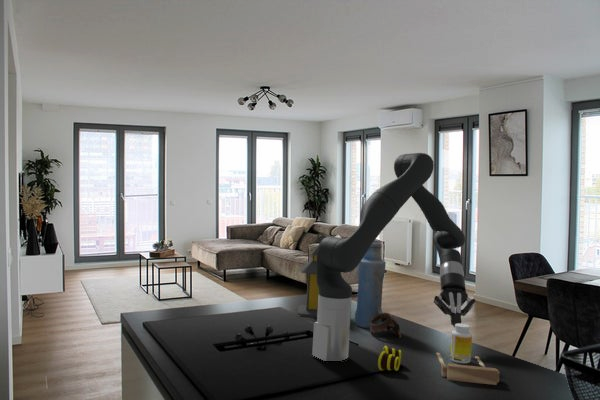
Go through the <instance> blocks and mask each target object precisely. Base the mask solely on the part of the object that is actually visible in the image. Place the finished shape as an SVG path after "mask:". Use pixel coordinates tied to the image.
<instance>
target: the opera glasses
mask: <svg viewBox="0 0 600 400" xmlns="http://www.w3.org/2000/svg"><path fill="white" fill-rule="evenodd" d="M401 363H402V350H401V349H395V348H393V347H392V348H390V347H388V346H387V345H384V346H383V349H382V352H381V353H380V354H379V357H378V360H377V366H378V369H379V370H380V371H381V372H382V371H383V372H384V371H386V370H387V371H393V370H394V371H399V369H400V364H401Z"/></svg>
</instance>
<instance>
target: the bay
mask: <svg viewBox="0 0 600 400" xmlns="http://www.w3.org/2000/svg"><path fill="white" fill-rule="evenodd" d="M435 353H436V356H437V358H438V361H439V363H440V366H441V370H440V371H441V372H440V374H441V377H442V378H446V380H448V381H455V382H464V383H472V384H473V383H474V384H486V385H494V386H497V385H498V383H499V382H500V375H501V374H500V371H499V370H498V369H497V368H495V367H486V366H485V364H484V362H483V361H482V360H481V358H480V357H479V356H474V358H475V360H476V359H477V360H476V361H477V363H478V362H479V363H478V364H479V366H476V365H465V364H456V363H455V364H454V363H447V364H446V363H445V362H444V359H443V357H442V355H441V353H440V352H435Z"/></svg>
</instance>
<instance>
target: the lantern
mask: <svg viewBox="0 0 600 400" xmlns="http://www.w3.org/2000/svg"><path fill="white" fill-rule="evenodd" d="M316 235H317V236H316V237H317V240H318V241H319V242H318V246H316V247H315V248H314V249H313V250H312V251H311V252H310V255H312V258H311V259H310V260H309V261H308V262H306V263H305V264H304V265H303V266H301V267H300V273H302V274H307V289H306V304H300V305H298V306H297V316H298V315H300V316H299V317H303V318H305V317H307V318H317V311H318V294H319V289H318V285H317V279H316V278H317V251H318V247H319V244H320V243H321V241H322V240H323V239H324V238H325V235H324V233H321V232H320V233H318V234H316ZM320 236H322V237H321V238H320Z"/></svg>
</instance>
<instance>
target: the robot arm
mask: <svg viewBox="0 0 600 400" xmlns="http://www.w3.org/2000/svg"><path fill="white" fill-rule="evenodd" d="M434 166H435V165H434V160H433V158H432V157H431V155H429V154H428V153H425V152H424V153H423V152H415V153H404V154H400V155H399V156H397V157H396V159H395V161H394V163H393V172H394V174H395V176H396V179H393V180H392V181H390V182H389V183H386V184H384V185H383V186H380V187H379V188H378V189H376V190H375V191H373V193H372V194H371V195H370V196H368V198H367V199H366V201H365V202H363V205H362V207H361V209H360V213H359V214H360V215H359V225H358V227H357V228H356V229H355V231H353V233H352V234H351V235H349V236H348V237H346V238H344V237H337V236H326V237H324V239H323V240H322V241H321V243H320V244H319V243H318V246H319V247H318V251H317V278H316V279H317V285H318V289H319V294H318V311H317V317H316V321H314V322H313V335H312V336H313V337H312V349H311V351H312V352H311V353H312V354H311V356H312V355H313V356H312V357H314V356H315V357H314V358H316V357H317V358H316V359H318V358H319V360H320V359H321V361H322V360H323V361H322V362H324V361H341V362H343V361H342V360H345V359H347V358H348V359H349V349H350V348H349V347H350V333H351V314H352V312H351V311H352V295H353V287H352V285H350V284H349V283H348V282H347V281H346V280H345V279H344V277H343V276H342V273H347V274H348V273H351V272H352V271H354V270H355V269H356V268H357V267H358V264H359V263H360V262H361V260H362V259H363V257H364V256H365V254H366V252H367V251H368V249H369V248H370V246H371V245H372V243H373V242H374V240H377V238H378V237H379V236H380V234H381V233H382V231H383V230H384V229H385V228H386V226H387V225H389V223H390V222H391V221H392V220H393V219H394V217H395V216H396V215H397V214H398V212H399V210H400V209H401V208H402V207H403V206H404V205H405V204H406V203H407V202H408V200H409V199H410V198H412V199H413V200H414V202H415V203H416V204H417V206H418V207H419V208H420V210H421V211H422V214H423V216H424V217H425V219H426V221H427V223H428V225H429V227H430V229H431V230H432V231H434V232H435V233H434V235H433V236H432V243H433V246H434V248H435V249H436V251H437V254H438V258H439V267H440V268H439V280H440V281H439V282H440V293H439V295H438V296H437V295H434V297H433V298H434V299H433V303H434V305H435V306H437V308H439V310H440V311H441V312H442V313H443V314H444V315H446V316H447V315H449V317H450V325H451V326H453V328H455V324H458V323H460V324H462V317H465V316H466V315H467V314H468V313H469V311H471V309H472V308H473V307H474V306H475V304H476V299H475V298H470V297H469V295H468V293H467V290H466V282H465V281H466V280H465V273H464V268H463V262H462V261H463V260H462V255H461V252H460V251H459V250H457V249H458V248H461V247H463V246H464V244H465V242H466V236H465V233H464V232H463V231H462V229H461V228H460V227H459V226H458V225H457V224H456V223H455V222H454V221H453V219H452V218H451V217H450V216H449V214H448V212H447V210H446V207H445V206H444V204H443V203H442V202H441V201H440V199H438V197H436V196H435V195H434V193H432V192H431V191H429V190H428V189H427V188H426V187H425V186H424V184H426V183H427V181H428V180H429V179H430V177H431V176H432V174H433V171H434ZM465 302H466V303H465ZM464 304H466V305H465V306H464ZM463 306H464V307H463ZM462 307H463V309H462ZM348 359H347V360H348ZM345 361H346V360H345Z"/></svg>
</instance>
